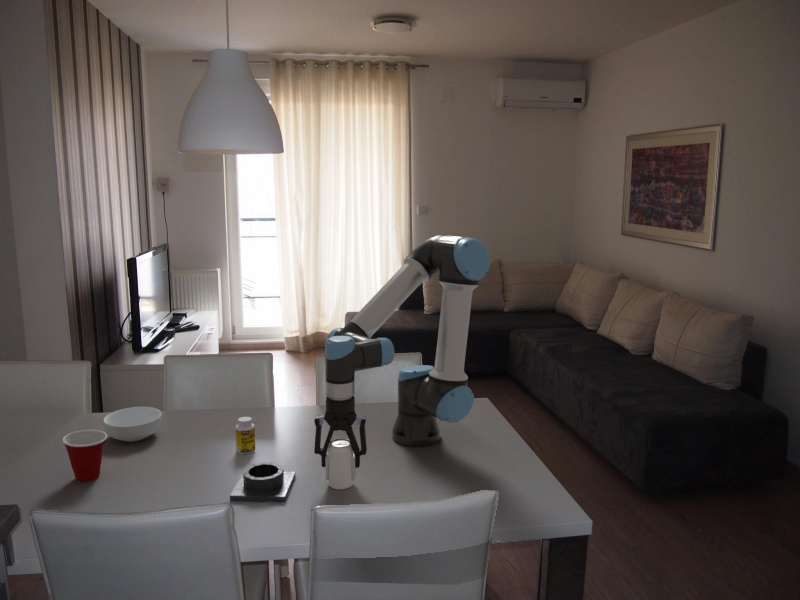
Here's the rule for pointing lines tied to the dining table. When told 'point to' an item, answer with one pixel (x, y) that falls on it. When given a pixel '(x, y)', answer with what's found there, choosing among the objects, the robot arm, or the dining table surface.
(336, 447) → the can
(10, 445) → the dining table surface
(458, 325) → the robot arm
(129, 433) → the cereal bowl
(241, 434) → the supplement bottle
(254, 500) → the socket
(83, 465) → the plastic cup
